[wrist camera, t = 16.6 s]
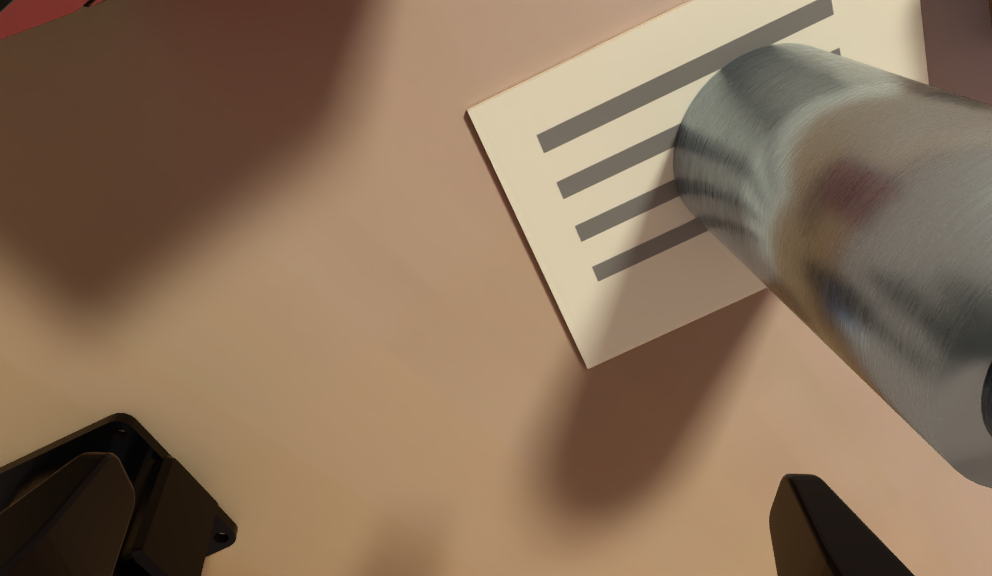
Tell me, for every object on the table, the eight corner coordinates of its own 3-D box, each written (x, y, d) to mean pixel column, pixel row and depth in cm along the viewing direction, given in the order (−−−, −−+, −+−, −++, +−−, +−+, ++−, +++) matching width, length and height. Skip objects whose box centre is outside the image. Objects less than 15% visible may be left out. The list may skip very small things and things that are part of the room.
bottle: (701, 264, 23) (1012, 604, 12) (648, 100, 20) (994, 347, 9) (873, 185, 23) (1360, 461, 12) (844, 6, 20) (1458, 144, 9)
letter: (586, 366, 25) (587, 369, 25) (466, 109, 20) (467, 111, 20) (937, 205, 24) (942, 207, 24) (904, -105, 19) (909, -105, 19)
